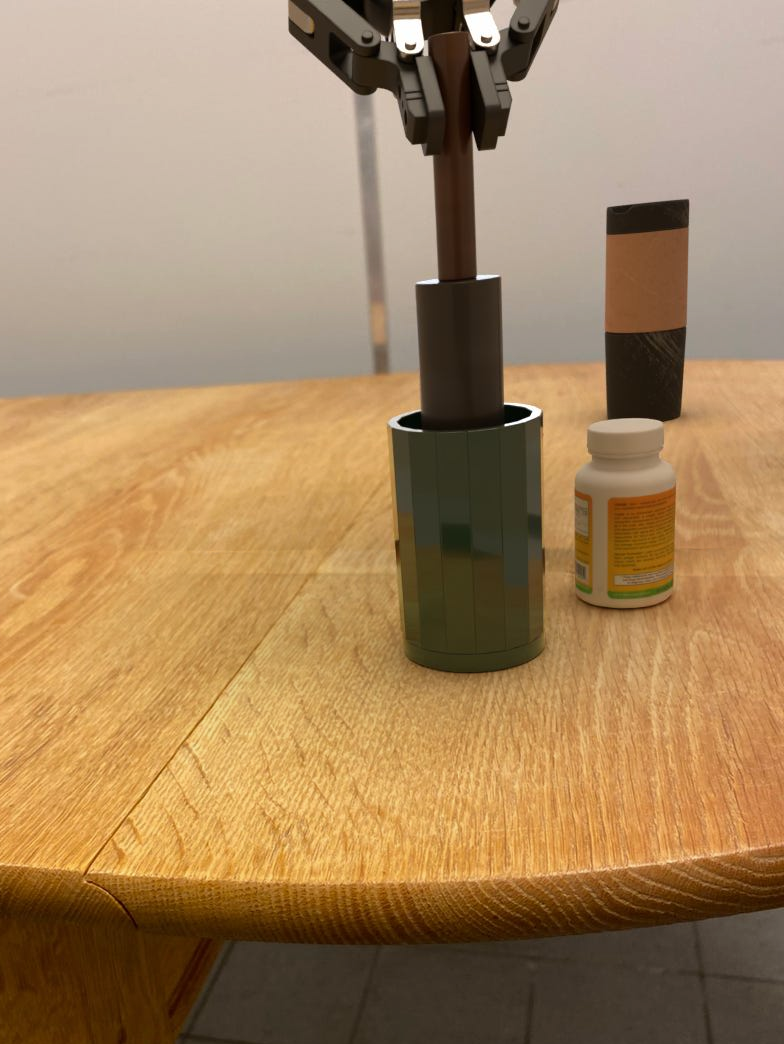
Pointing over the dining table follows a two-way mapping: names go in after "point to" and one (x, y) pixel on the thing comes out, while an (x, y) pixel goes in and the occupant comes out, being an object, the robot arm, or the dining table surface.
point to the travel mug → (646, 308)
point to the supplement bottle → (625, 516)
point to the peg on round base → (458, 273)
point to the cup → (470, 540)
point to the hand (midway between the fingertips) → (463, 135)
